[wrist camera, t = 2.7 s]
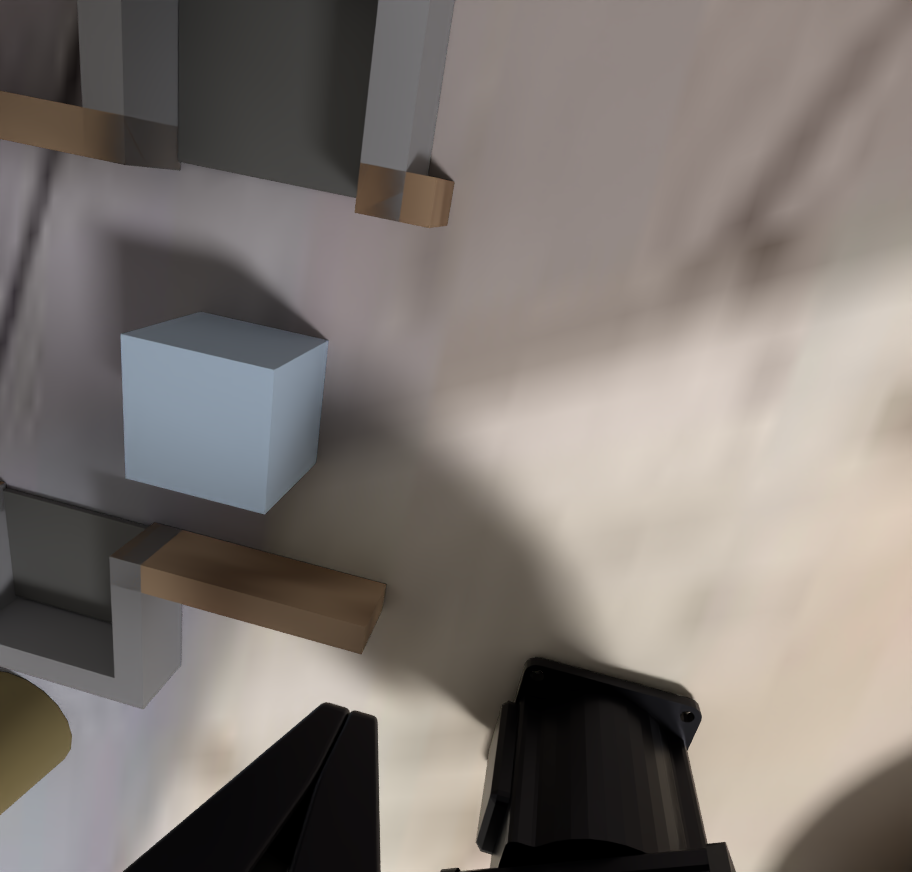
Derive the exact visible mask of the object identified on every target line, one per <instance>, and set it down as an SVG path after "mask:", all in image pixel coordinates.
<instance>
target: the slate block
mask: <svg viewBox="0 0 912 872" xmlns="http://www.w3.org/2000/svg"><path fill="white" fill-rule="evenodd" d="M327 350H328V340H325V339H320V338H316V337H311V336H307V335H302V334H298V333H294V332H289V331H285V330H280V329H276V328H271V327H267V326H263V325H258V324H254V323H249V322H245V321H240V320H236V319H232V318H227V317H223V316H218V315H214V314H209V313H205V312H198V313H194V314H190V315H187V316H183V317H180V318H176V319H173V320H169V321H165V322H162V323H158V324H155V325H151V326H147V327H144V328H140V329H137V330H133V331H130V332H126V333H122V334H121V362H122V390H123V418H124V446H125V475H126V479H130V480H134V481H138V482H142V483H146V484H149V485H153V486H157V487H161V488H165V489H169V490H173V491H176V492H180V493H184V494H188V495H192V496H196V497H200V498H203V499H207V500H211V501H215V502H219V503H223V504H227V505H230V506H234V507H238V508H242V509H246V510H250V511H254V512H257V513H261V514H266V513H267V512H268V511H269V510H270V509H271V508H272V507H273V506H274V505H275V504H276V503H277V502H278V501H279V500H280V499H281V498H282V497H283V496H284V495H285V494H286V493H287V492H288V491H289V490H290V489H291V488H292V487H293V486H294V485H295V484H296V483H297V482H298V481H299V480H300V479H301V478H302V477H303V476H304V475H305V474H306V473H307V472H308V471H309V470H310V469H311V468H312V467H313V466H314V465H315V464H316V459H317V449H318V439H319V430H320V420H321V410H322V400H323V390H324V380H325V370H326V360H327Z"/></svg>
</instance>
